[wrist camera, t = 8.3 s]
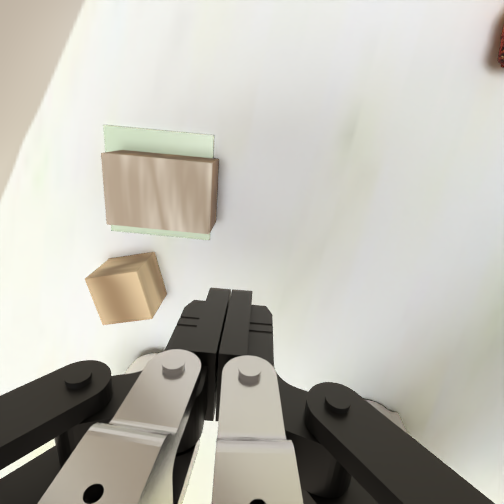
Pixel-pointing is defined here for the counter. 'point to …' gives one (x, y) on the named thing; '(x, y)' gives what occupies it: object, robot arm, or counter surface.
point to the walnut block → (160, 191)
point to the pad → (161, 144)
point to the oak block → (127, 288)
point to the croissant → (501, 50)
